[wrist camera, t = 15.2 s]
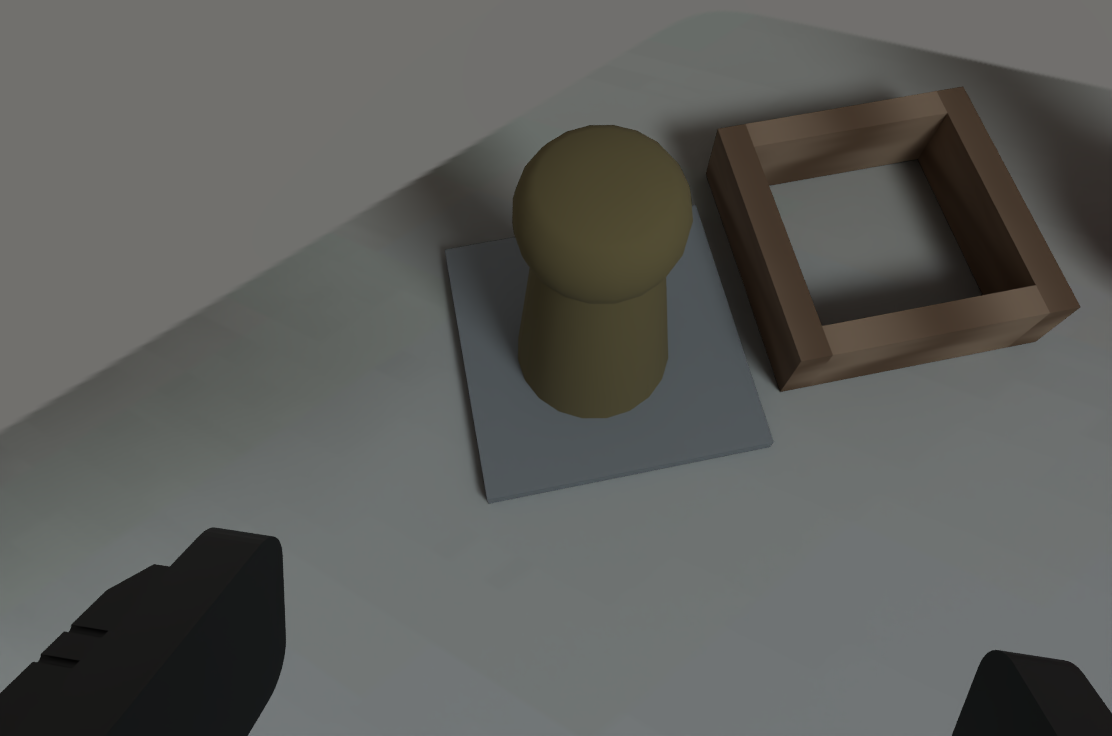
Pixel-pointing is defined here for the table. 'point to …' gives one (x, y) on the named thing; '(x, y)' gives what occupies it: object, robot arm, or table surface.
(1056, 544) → the table surface
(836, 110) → the walnut collar
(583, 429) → the rubber mat
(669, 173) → the cork
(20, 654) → the table surface
